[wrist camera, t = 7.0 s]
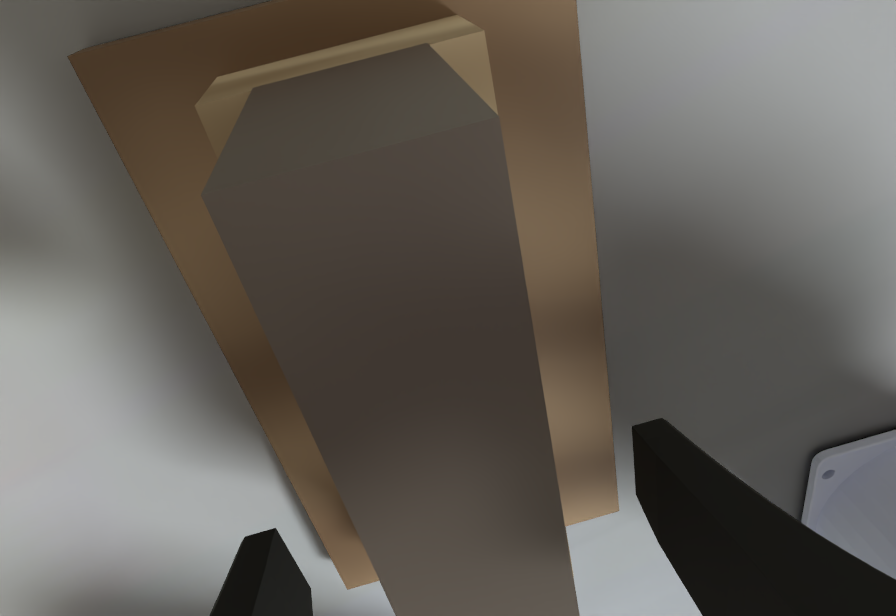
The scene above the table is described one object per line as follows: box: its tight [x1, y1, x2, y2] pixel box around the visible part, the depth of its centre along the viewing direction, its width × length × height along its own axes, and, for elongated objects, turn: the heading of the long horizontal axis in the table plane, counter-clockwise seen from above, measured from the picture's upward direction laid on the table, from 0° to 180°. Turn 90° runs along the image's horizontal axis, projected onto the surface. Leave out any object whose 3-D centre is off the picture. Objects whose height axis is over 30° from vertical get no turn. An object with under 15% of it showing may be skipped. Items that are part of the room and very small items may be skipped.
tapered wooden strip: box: [201, 43, 579, 616], centre depth 12 cm, size 16×3×5 cm, turn 12°
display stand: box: [67, 0, 619, 590], centre depth 16 cm, size 18×10×4 cm, turn 12°
